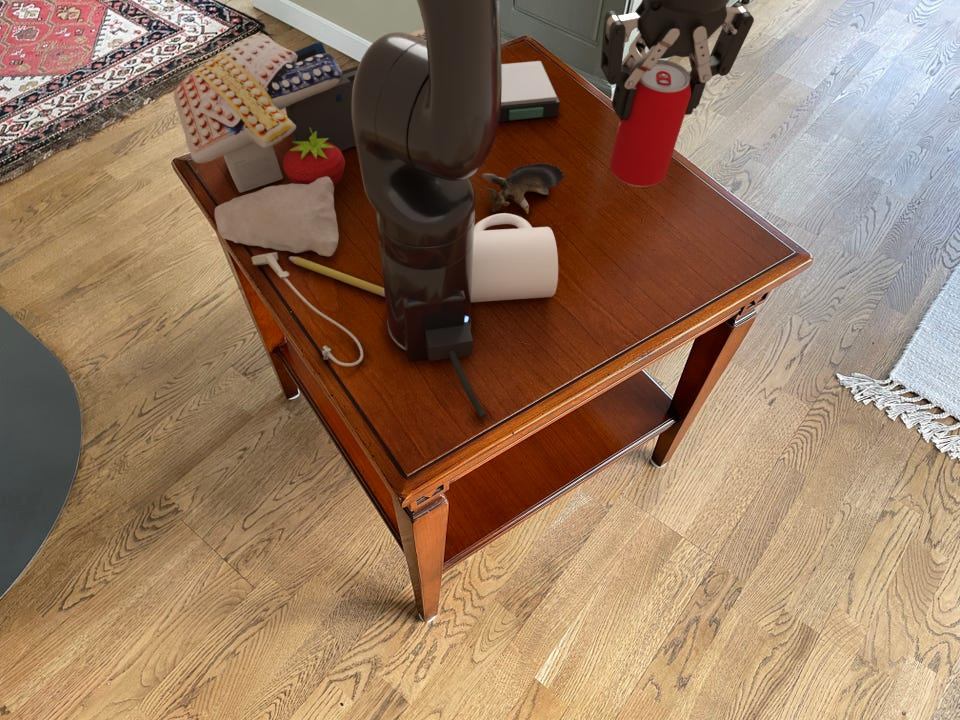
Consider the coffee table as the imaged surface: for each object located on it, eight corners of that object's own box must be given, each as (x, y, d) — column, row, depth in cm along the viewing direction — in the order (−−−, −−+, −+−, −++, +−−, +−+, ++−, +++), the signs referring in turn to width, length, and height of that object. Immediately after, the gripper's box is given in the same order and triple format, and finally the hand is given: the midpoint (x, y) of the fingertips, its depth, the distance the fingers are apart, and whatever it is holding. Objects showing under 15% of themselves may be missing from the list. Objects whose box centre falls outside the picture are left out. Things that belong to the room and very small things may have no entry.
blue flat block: (344, 100, 90) (338, 102, 90) (311, 106, 102) (307, 108, 101) (322, 40, 87) (316, 42, 87) (291, 53, 99) (286, 55, 98)
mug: (552, 310, 82) (562, 263, 75) (467, 317, 81) (469, 269, 74) (535, 237, 89) (542, 188, 82) (456, 242, 88) (457, 192, 81)
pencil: (287, 256, 85) (286, 250, 84) (390, 294, 82) (390, 288, 82) (283, 261, 85) (281, 255, 84) (386, 299, 82) (386, 294, 81)
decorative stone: (339, 181, 87) (219, 188, 87) (332, 171, 83) (205, 179, 83) (344, 259, 87) (223, 266, 87) (336, 254, 83) (209, 261, 83)
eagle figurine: (520, 231, 87) (574, 192, 89) (496, 181, 84) (552, 141, 86) (491, 224, 94) (541, 188, 96) (467, 177, 90) (520, 140, 92)
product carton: (284, 179, 93) (270, 133, 87) (239, 194, 91) (221, 148, 85) (270, 152, 96) (256, 106, 90) (226, 165, 94) (208, 119, 88)
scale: (558, 118, 103) (561, 100, 100) (492, 125, 101) (493, 106, 99) (540, 76, 109) (542, 58, 106) (477, 82, 107) (477, 64, 105)
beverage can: (663, 158, 80) (693, 59, 70) (665, 194, 76) (698, 96, 67) (608, 152, 80) (631, 53, 70) (608, 188, 76) (632, 89, 67)
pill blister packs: (361, 90, 88) (278, 31, 92) (352, 56, 83) (265, -5, 86) (236, 202, 83) (154, 134, 86) (217, 173, 78) (131, 103, 81)
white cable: (364, 376, 79) (289, 251, 87) (370, 358, 76) (292, 231, 84) (321, 391, 76) (246, 260, 84) (325, 372, 74) (248, 240, 81)
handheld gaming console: (437, 102, 104) (436, 38, 95) (447, 112, 102) (447, 48, 94) (294, 155, 96) (279, 89, 87) (302, 166, 94) (289, 100, 86)
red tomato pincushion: (290, 184, 92) (274, 119, 84) (347, 179, 93) (338, 113, 85) (291, 215, 89) (276, 151, 81) (351, 209, 90) (342, 145, 82)
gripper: (635, -37, 55) (597, 142, 69) (801, -46, 57) (732, 129, 71) (606, -79, 59) (575, 97, 73) (762, -86, 62) (704, 86, 75)
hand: (653, 112), depth 72 cm, fingers closed on beverage can, 6 cm apart
